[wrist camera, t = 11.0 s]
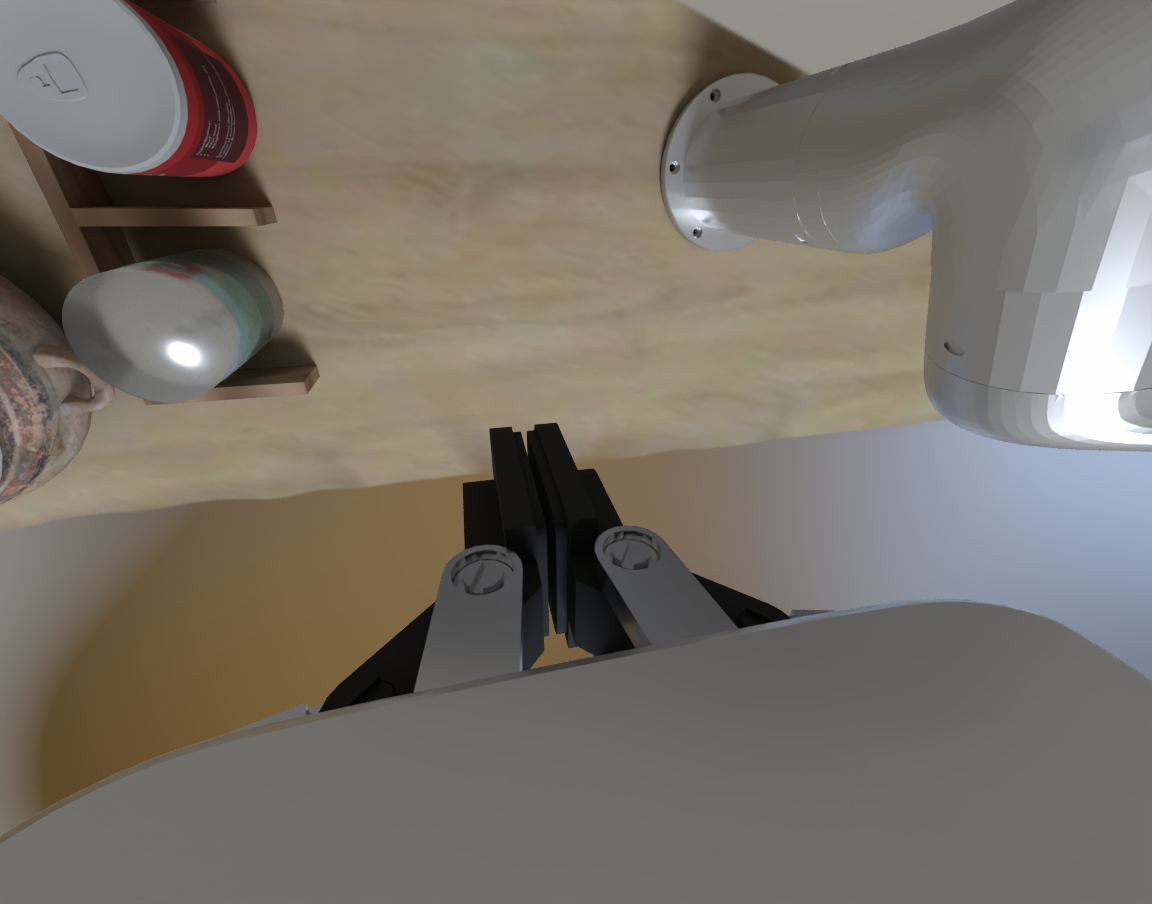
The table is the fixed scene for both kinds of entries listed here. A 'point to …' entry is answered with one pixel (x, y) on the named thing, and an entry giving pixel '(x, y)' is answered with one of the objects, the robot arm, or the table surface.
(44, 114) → the canned food
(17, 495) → the cooking pot
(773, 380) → the table surface
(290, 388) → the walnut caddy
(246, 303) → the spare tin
